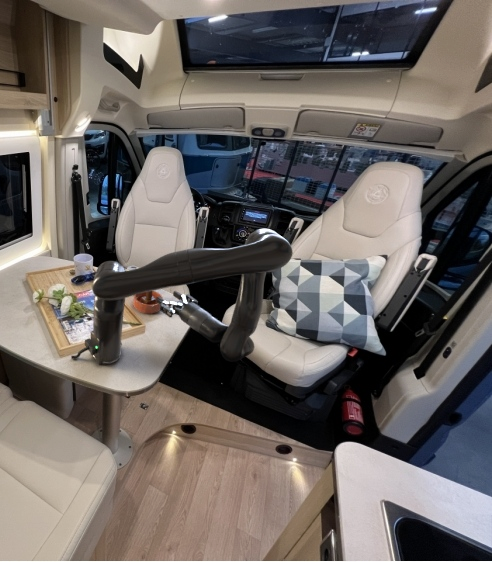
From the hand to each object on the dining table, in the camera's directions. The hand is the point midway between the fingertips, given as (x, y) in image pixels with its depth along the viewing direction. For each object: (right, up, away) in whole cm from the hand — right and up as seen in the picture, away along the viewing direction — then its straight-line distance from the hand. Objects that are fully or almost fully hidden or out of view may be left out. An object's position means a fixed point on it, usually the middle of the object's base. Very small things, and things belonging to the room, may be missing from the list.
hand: (165, 295), depth 111 cm
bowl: (-6, -5, +13) cm, 15 cm away
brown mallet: (-6, -5, +12) cm, 14 cm away
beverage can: (-12, +1, +22) cm, 25 cm away
